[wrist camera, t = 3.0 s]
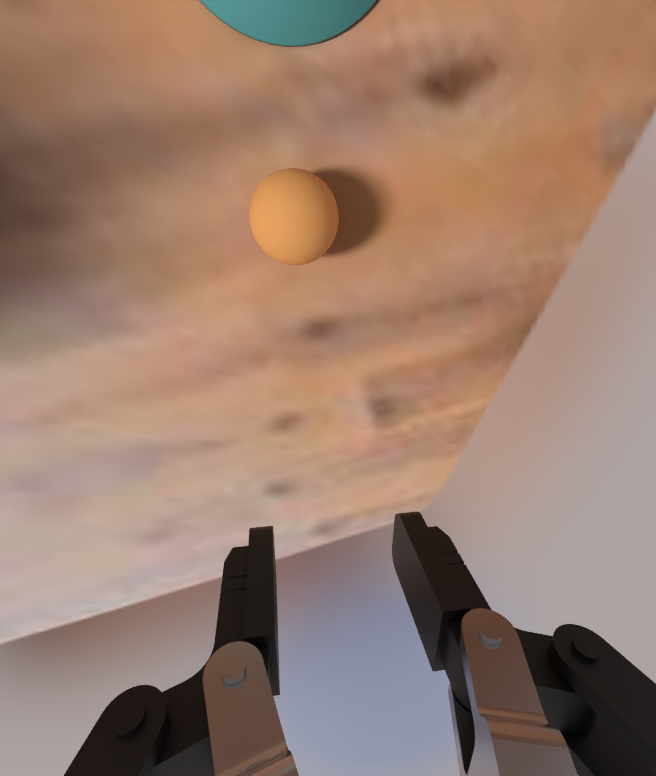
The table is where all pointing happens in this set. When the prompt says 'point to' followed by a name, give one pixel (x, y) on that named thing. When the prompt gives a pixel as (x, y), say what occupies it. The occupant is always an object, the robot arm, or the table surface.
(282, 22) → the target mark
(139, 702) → the robot arm
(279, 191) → the ball
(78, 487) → the table surface
